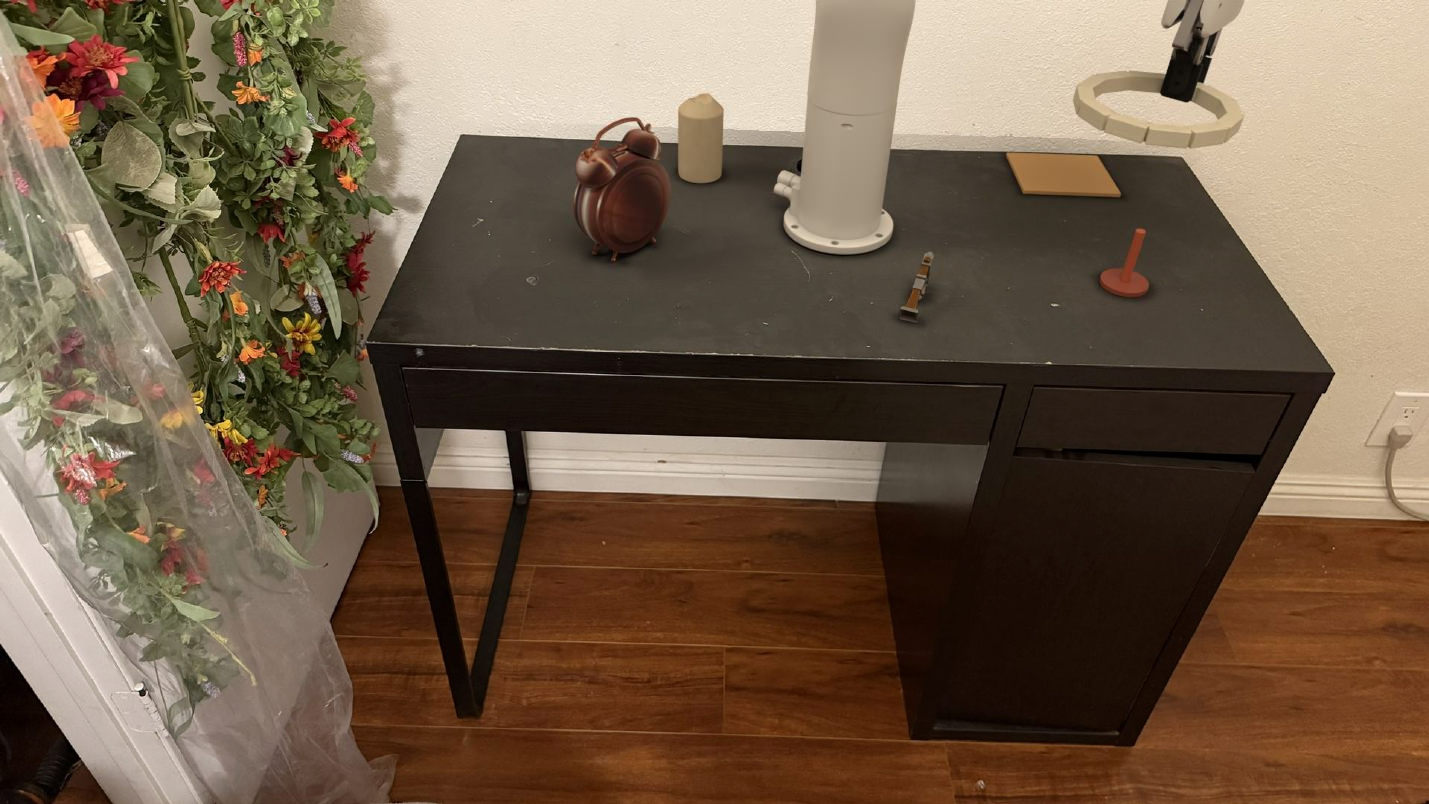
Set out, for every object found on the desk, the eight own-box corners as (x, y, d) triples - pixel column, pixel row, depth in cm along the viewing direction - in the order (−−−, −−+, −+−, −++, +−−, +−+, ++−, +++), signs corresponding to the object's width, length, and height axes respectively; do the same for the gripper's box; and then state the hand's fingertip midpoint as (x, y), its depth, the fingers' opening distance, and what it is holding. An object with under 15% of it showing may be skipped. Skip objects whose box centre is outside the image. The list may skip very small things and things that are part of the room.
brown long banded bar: (936, 275, 106) (939, 249, 102) (915, 336, 103) (917, 311, 99) (920, 271, 106) (922, 245, 102) (898, 332, 103) (900, 307, 99)
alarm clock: (645, 225, 115) (642, 99, 105) (674, 240, 112) (674, 113, 103) (572, 258, 109) (562, 128, 99) (601, 275, 106) (593, 143, 97)
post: (1091, 286, 107) (1108, 231, 103) (1110, 268, 110) (1126, 214, 106) (1136, 303, 104) (1155, 247, 100) (1154, 284, 107) (1173, 229, 103)
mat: (1023, 193, 123) (1024, 190, 123) (1005, 155, 132) (1006, 152, 132) (1120, 197, 123) (1121, 193, 123) (1096, 158, 132) (1097, 155, 131)
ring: (1202, 162, 92) (1208, 146, 91) (1047, 115, 100) (1051, 99, 99) (1258, 114, 101) (1264, 99, 100) (1112, 74, 109) (1116, 60, 108)
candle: (695, 160, 128) (696, 85, 122) (730, 172, 126) (732, 95, 120) (669, 175, 125) (668, 98, 119) (704, 188, 123) (706, 109, 116)
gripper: (1229, -115, 100) (1172, 67, 111) (1170, -89, 90) (1114, 106, 102) (1308, -102, 96) (1240, 85, 107) (1254, -74, 87) (1186, 127, 98)
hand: (1179, 94), depth 105 cm, fingers closed on ring, 1 cm apart
